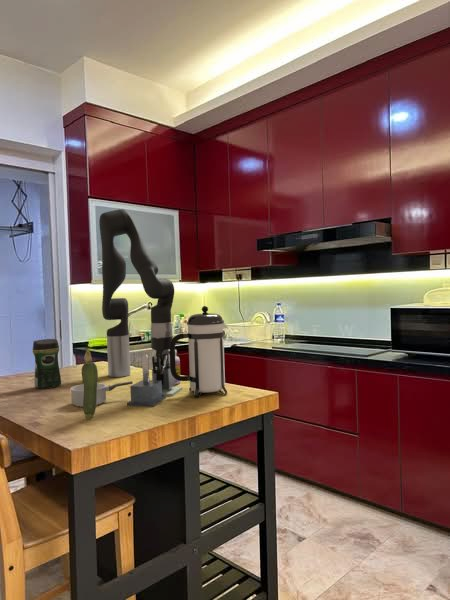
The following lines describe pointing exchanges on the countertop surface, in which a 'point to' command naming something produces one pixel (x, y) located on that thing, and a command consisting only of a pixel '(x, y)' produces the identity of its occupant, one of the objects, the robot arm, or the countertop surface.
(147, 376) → the grey peg stand
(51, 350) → the coffee jar
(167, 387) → the collar
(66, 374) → the countertop surface
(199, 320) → the coffee press
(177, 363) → the supplement bottle
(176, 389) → the pad
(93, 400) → the vegetable
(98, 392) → the saucepan
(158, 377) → the robot arm
